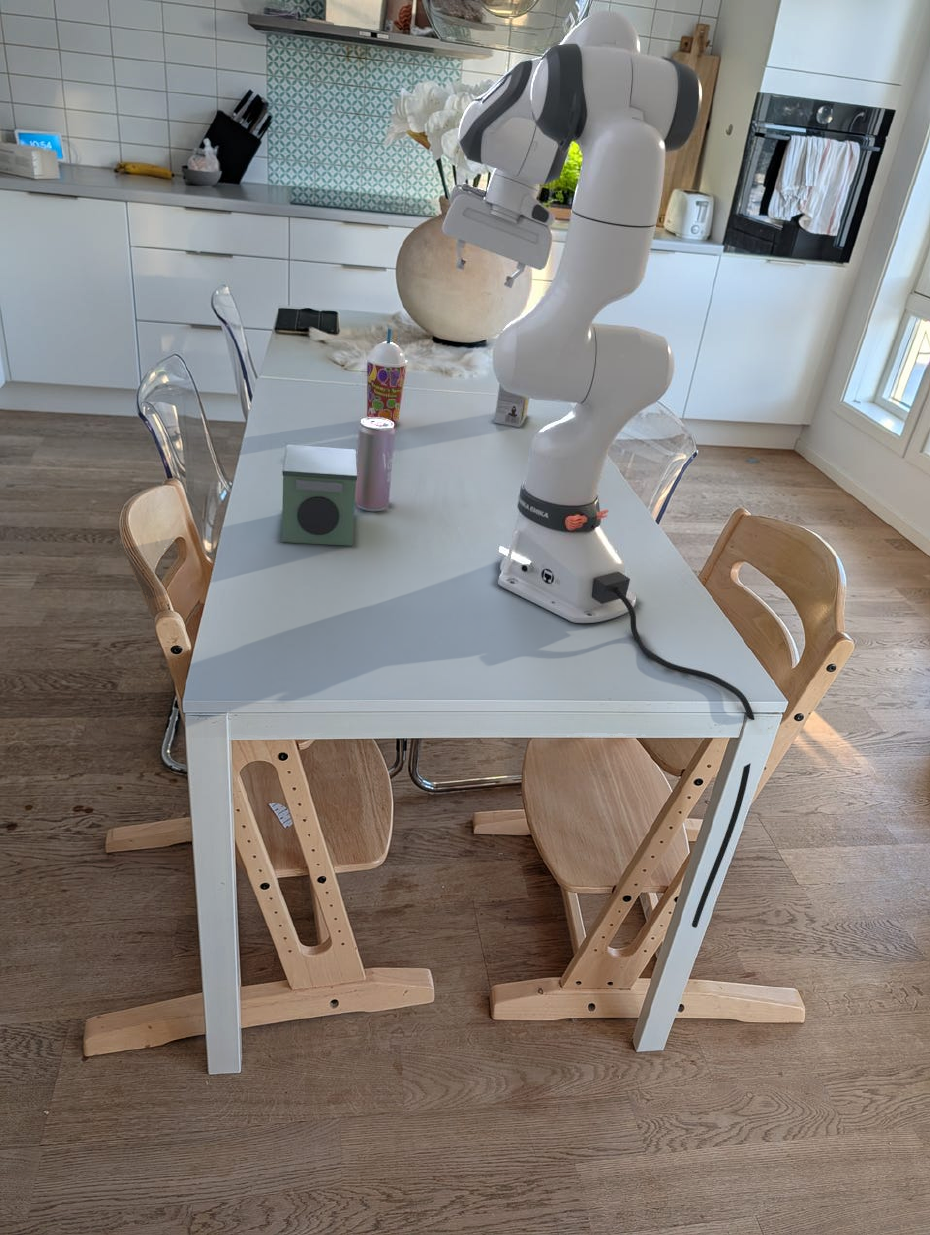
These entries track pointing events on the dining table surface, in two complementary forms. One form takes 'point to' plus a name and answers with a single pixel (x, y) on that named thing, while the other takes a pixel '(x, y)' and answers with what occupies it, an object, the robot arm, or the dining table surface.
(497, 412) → the coffee box
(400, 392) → the smoothie
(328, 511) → the washer stand
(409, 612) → the dining table surface
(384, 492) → the beverage can
